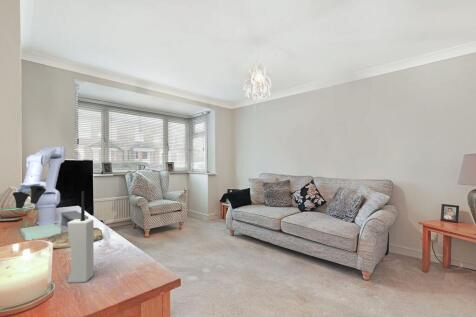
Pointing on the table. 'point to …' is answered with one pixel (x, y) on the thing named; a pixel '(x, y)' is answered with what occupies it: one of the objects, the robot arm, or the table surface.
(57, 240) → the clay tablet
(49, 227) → the mint green slab
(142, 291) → the table surface
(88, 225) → the vintage mobile phone
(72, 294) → the table surface
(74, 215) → the hood
